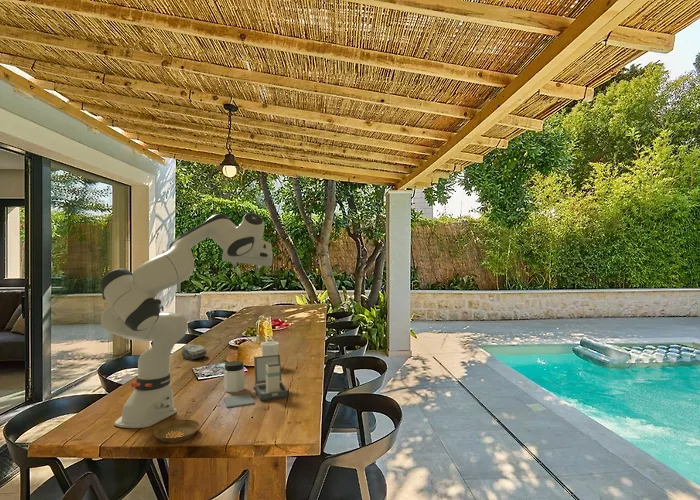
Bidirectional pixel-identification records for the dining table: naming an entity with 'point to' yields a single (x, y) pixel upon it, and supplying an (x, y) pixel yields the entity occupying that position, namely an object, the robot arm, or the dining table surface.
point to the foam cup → (269, 348)
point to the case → (272, 395)
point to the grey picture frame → (264, 367)
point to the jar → (233, 376)
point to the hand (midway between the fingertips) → (246, 267)
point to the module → (272, 377)
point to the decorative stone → (193, 351)
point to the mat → (238, 400)
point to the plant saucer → (177, 425)
